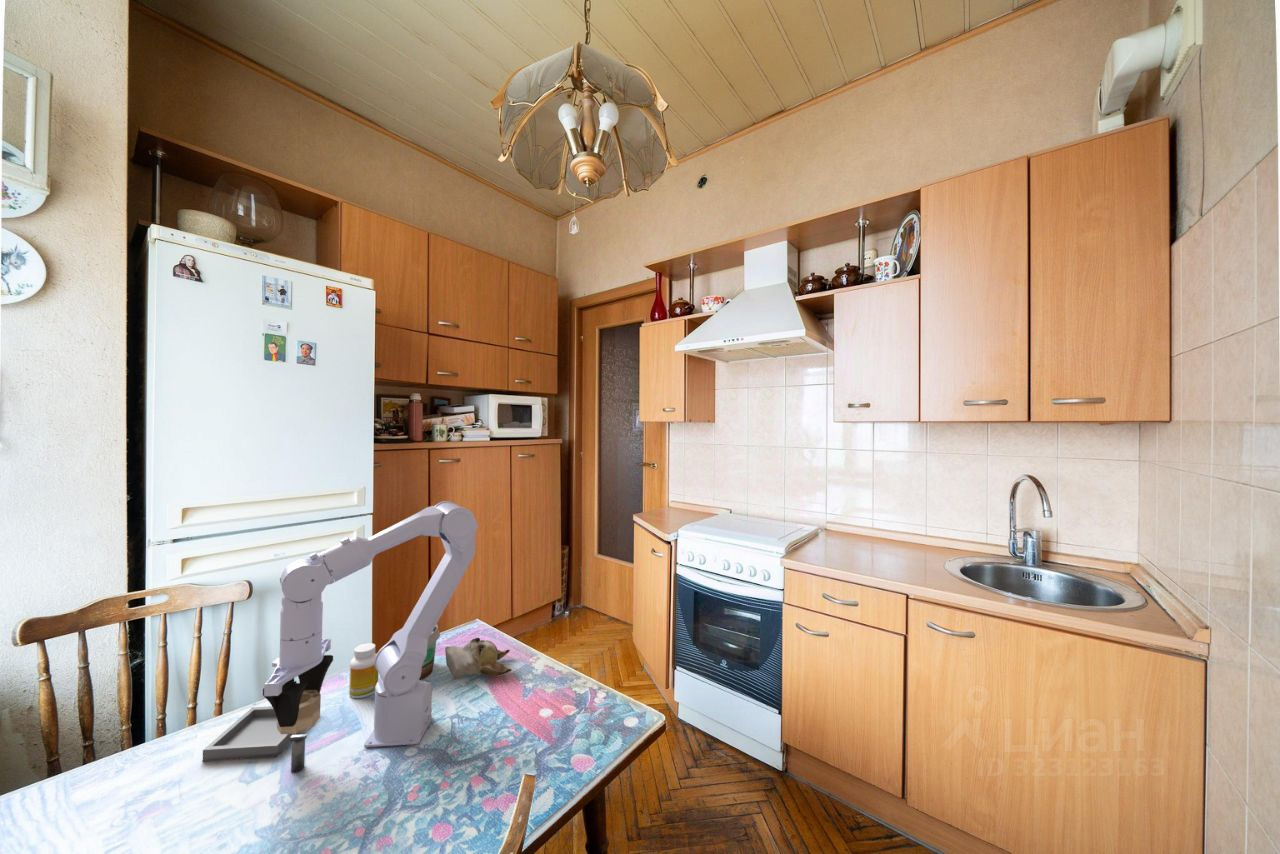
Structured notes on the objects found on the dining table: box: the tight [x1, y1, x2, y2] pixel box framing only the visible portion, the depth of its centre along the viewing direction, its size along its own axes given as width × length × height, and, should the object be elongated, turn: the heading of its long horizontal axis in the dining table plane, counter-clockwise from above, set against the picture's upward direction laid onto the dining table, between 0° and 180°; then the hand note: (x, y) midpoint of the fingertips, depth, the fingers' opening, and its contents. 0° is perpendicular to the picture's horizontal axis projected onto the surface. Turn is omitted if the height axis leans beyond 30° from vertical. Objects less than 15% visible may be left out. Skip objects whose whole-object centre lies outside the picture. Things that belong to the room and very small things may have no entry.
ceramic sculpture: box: [444, 637, 512, 680], centre depth 106 cm, size 11×9×15 cm
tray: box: [202, 706, 299, 762], centre depth 83 cm, size 12×12×2 cm
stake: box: [290, 733, 308, 774], centre depth 75 cm, size 2×2×6 cm
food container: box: [419, 623, 441, 681], centre depth 105 cm, size 12×6×10 cm, turn 168°
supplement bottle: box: [348, 642, 379, 699], centre depth 97 cm, size 5×5×10 cm
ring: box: [277, 690, 322, 734], centre depth 75 cm, size 5×5×4 cm
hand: (299, 713), depth 75 cm, fingers closed on ring, 5 cm apart
